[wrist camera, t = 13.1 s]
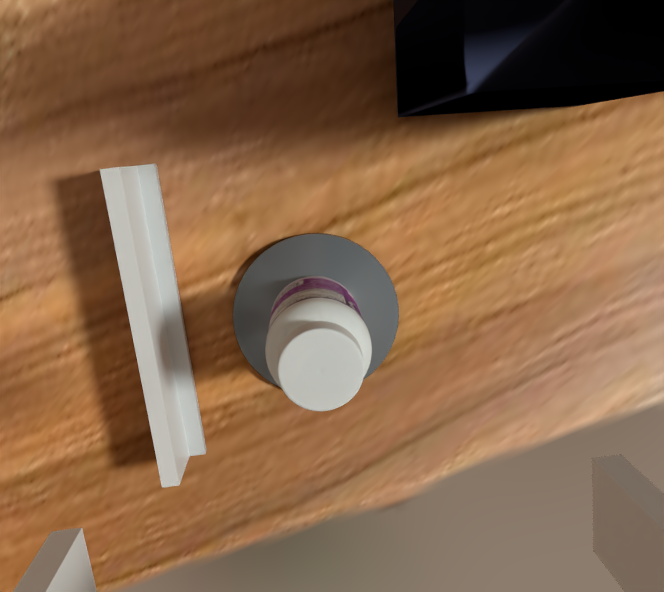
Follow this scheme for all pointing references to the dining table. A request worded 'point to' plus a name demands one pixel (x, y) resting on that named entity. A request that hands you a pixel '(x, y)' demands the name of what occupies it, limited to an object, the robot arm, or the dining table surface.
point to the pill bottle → (317, 343)
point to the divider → (155, 315)
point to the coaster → (314, 260)
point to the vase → (524, 53)
